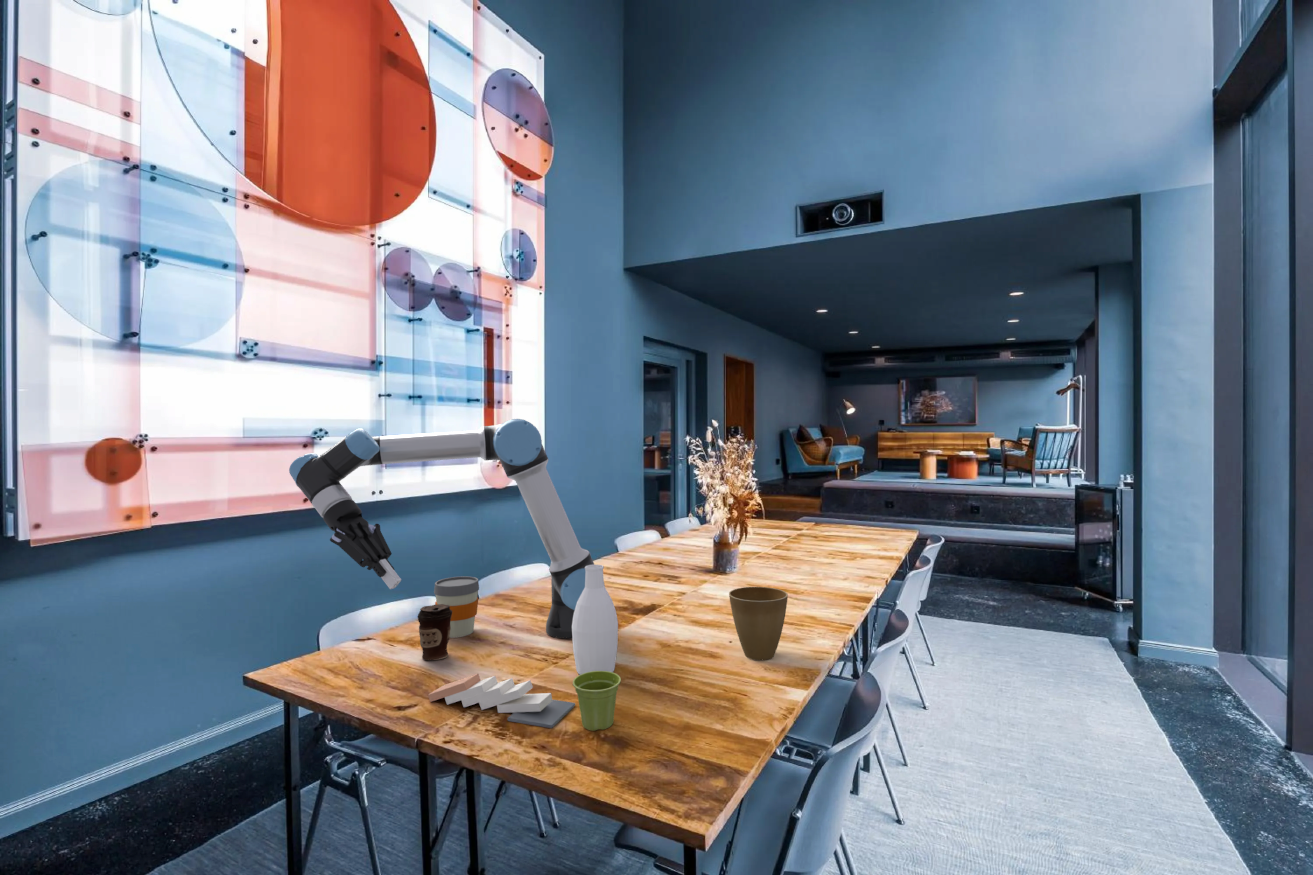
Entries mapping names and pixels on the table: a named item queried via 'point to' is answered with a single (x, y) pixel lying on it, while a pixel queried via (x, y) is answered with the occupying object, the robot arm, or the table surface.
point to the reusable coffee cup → (459, 602)
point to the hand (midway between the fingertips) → (395, 584)
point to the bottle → (594, 625)
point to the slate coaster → (544, 714)
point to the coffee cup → (434, 631)
